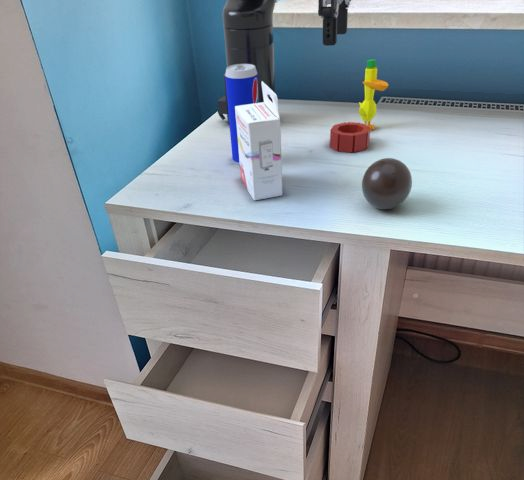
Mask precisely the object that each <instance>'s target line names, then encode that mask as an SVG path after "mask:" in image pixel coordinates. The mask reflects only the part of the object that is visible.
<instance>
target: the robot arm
mask: <svg viewBox="0 0 524 480" xmlns="http://www.w3.org/2000/svg"><path fill="white" fill-rule="evenodd" d="M276 2H277V1H276V0H226V1H225V4H224V6H223V8H222V14H221V15H222V27H223V37H224V48H225V61H226V62H225V63H226V68H227V67H228V66H231V65H235V64H252V65H254V66H255V67H256V70H257V75H258V95H259V103H261V102H264V99H263V92H262V84H261V82H262V81H263V82H264V83H265V84H266V85H267V86H268V87H269V88H270V89H271V90H272V91H273V92H274V93H275V94H276V81H275V79H276V77H275V47H274V45H275V44H274V10H275V5H276ZM351 2H352V0H318V4H317V5H318V7H317V8H318V9H317V14H318V16H319V17H320V18H321V19H322V44H323V45H324V46H329V47H330V46H331V47H332V46H335V45H336V44H337V43H338V35H346V34H347V33H348V18H349V8H350V6H351ZM328 5H330V6H328ZM225 74H226V71H225V72H224V73H223V84H224V95H223V96H222V97H220V98H219V99H218V100H216V101H217V115H218V116H219V118H220V119H221V120H222V121H224V120H226V119H227V125H229V113H228V102H227V91H226V79H225ZM268 98H269V100H270V101H271V102H272V103H273V101H272V98H271V97H270V95H268ZM225 115H226V117H225Z"/></svg>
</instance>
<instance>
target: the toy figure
mask: <svg viewBox="0 0 524 480" xmlns="http://www.w3.org/2000/svg"><path fill="white" fill-rule="evenodd" d="M376 62H377V59H376V58H375V59H374V58H373V59H367V60H366V63H367V64H366V66H365V72H364V81H362V84H363V85H364V100H363V101H362V102H360V101H358V103H359V108H358V114H359V116H360V118H361V119H362V121H363V122H364V124H365V125H367V126H369V127H370V132H372V131H374V130H376V126H375V124H371V121H372V120H373V119H374V117H375V116H376V114H377V103H376V101H375V100H374V96H375V93H376V91H380V92H383V91H385V90H386V89H388V87H389V83H388V82H387V81H384V80H382V79H378V65H377V63H376Z"/></svg>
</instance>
